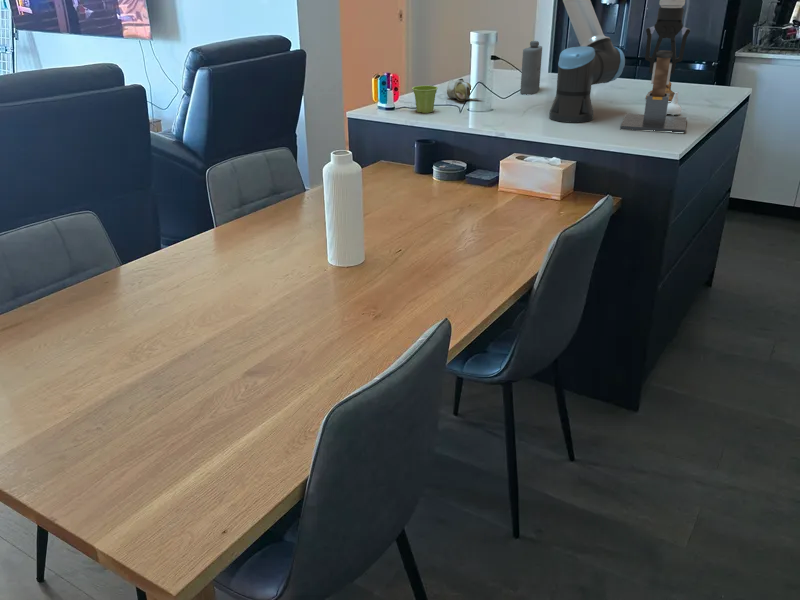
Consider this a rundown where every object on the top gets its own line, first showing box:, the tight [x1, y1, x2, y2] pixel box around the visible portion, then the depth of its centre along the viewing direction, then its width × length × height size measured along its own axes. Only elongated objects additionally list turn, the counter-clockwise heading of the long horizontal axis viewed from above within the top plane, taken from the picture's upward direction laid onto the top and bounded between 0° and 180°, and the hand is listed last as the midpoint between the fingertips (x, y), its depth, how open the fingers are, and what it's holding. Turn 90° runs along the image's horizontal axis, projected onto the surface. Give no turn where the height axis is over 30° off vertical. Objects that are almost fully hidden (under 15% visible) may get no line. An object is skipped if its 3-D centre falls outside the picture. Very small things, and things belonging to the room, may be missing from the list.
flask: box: [519, 40, 543, 96], centre depth 288 cm, size 15×6×20 cm, turn 155°
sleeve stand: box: [619, 91, 688, 133], centre depth 233 cm, size 20×20×10 cm
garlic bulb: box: [666, 91, 682, 115], centre depth 248 cm, size 6×6×8 cm
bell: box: [645, 81, 675, 101], centre depth 272 cm, size 12×12×7 cm
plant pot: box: [411, 85, 439, 114], centre depth 258 cm, size 9×9×9 cm
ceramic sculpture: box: [446, 78, 472, 102], centre depth 276 cm, size 11×9×15 cm
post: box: [651, 49, 673, 96], centre depth 229 cm, size 6×6×22 cm
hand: (659, 83), depth 229 cm, fingers closed on post, 4 cm apart
